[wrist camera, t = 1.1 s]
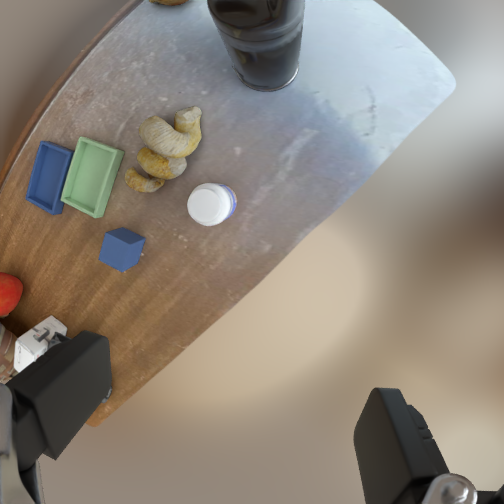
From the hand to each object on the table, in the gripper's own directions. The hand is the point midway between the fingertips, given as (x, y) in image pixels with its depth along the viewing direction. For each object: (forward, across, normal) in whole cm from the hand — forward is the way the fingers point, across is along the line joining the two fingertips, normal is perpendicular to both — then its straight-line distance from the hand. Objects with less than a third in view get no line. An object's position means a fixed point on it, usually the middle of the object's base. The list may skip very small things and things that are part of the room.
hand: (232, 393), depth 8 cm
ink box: (+38, +40, +29) cm, 62 cm away
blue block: (+38, +22, +7) cm, 44 cm away
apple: (+38, +50, +20) cm, 66 cm away
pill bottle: (+38, +8, -2) cm, 39 cm away
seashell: (+38, +17, -9) cm, 43 cm away
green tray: (+38, +30, -4) cm, 48 cm away
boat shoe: (+30, +60, +37) cm, 76 cm away
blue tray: (+38, +40, -3) cm, 55 cm away
